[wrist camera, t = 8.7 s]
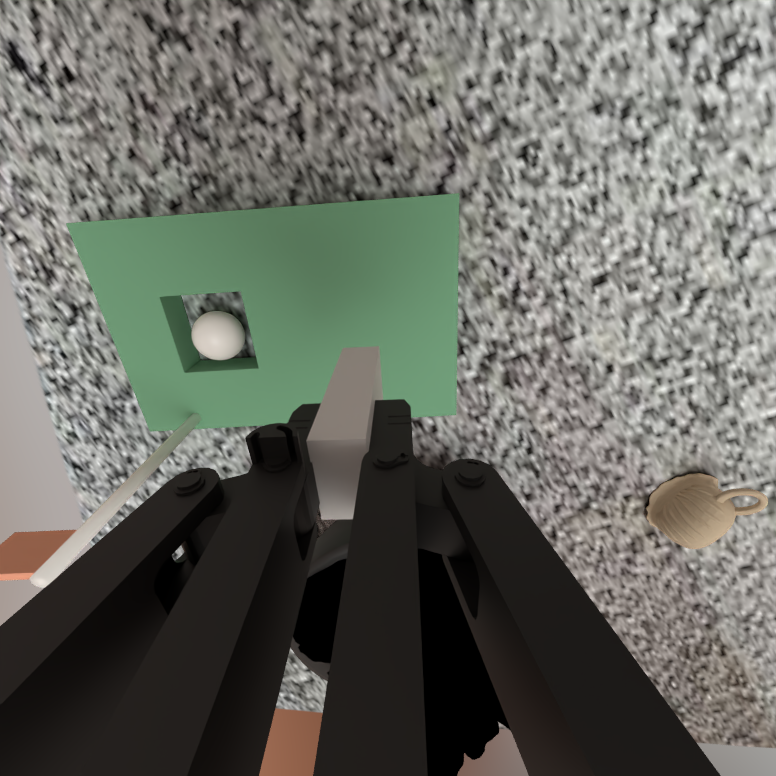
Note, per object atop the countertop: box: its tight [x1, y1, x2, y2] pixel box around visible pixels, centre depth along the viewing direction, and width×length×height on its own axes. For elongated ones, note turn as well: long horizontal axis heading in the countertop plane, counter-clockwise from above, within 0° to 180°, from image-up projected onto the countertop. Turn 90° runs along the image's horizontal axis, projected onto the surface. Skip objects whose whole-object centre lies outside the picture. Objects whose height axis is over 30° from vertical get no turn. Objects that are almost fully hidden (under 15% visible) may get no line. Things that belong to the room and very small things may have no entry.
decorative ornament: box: [646, 473, 768, 549], centre depth 32 cm, size 4×8×5 cm, turn 148°
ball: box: [191, 311, 245, 360], centre depth 26 cm, size 4×4×4 cm
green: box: [0, 193, 459, 588], centre depth 20 cm, size 15×24×16 cm, turn 94°
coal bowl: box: [290, 519, 511, 776], centre depth 28 cm, size 20×20×19 cm
